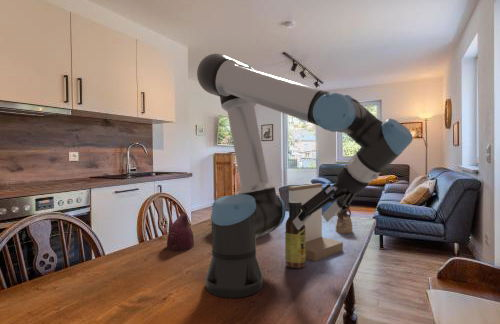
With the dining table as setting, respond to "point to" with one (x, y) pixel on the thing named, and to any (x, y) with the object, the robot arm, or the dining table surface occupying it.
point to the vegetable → (180, 235)
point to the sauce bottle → (295, 239)
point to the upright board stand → (314, 225)
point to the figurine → (344, 221)
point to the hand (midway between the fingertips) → (311, 221)
